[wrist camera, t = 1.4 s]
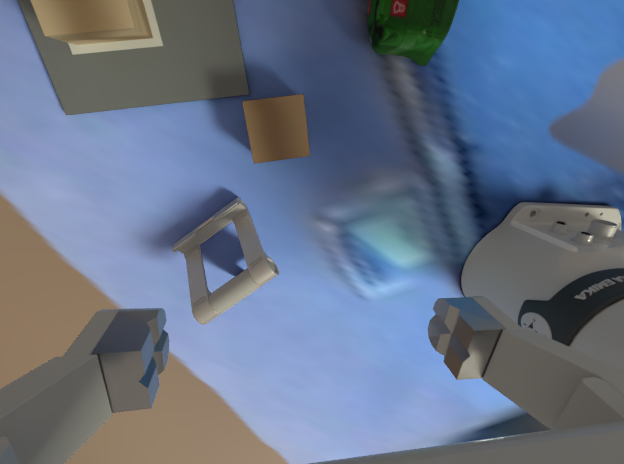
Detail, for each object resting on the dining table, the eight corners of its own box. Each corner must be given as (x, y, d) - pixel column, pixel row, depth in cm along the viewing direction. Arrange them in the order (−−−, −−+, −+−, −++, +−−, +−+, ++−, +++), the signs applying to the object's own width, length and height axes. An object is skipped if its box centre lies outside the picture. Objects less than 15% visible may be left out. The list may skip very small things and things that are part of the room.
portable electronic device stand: (237, 194, 32) (230, 224, 25) (281, 246, 35) (287, 286, 28) (176, 240, 33) (150, 282, 26) (224, 286, 36) (214, 335, 29)
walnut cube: (297, 94, 29) (303, 94, 25) (303, 147, 31) (310, 155, 27) (245, 100, 29) (242, 101, 24) (255, 153, 31) (253, 163, 26)
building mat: (213, -110, 23) (212, -117, 22) (249, 94, 28) (249, 94, 28) (-18, -99, 21) (-27, -105, 20) (69, 114, 27) (65, 115, 26)
